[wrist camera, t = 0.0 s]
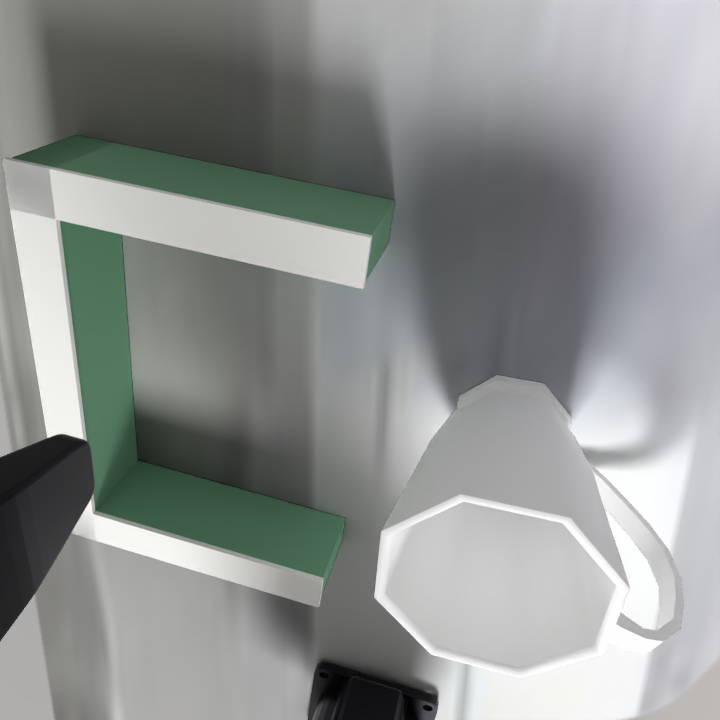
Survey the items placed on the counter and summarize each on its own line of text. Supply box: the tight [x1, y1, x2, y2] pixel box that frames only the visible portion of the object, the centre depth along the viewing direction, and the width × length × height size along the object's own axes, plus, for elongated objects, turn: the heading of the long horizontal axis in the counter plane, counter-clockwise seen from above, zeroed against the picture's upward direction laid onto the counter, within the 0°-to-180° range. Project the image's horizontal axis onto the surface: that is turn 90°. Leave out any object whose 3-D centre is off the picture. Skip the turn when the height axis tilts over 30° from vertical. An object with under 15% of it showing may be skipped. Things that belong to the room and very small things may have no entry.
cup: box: [374, 375, 684, 678], centre depth 22 cm, size 7×10×8 cm
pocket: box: [2, 135, 395, 608], centre depth 25 cm, size 16×12×4 cm
